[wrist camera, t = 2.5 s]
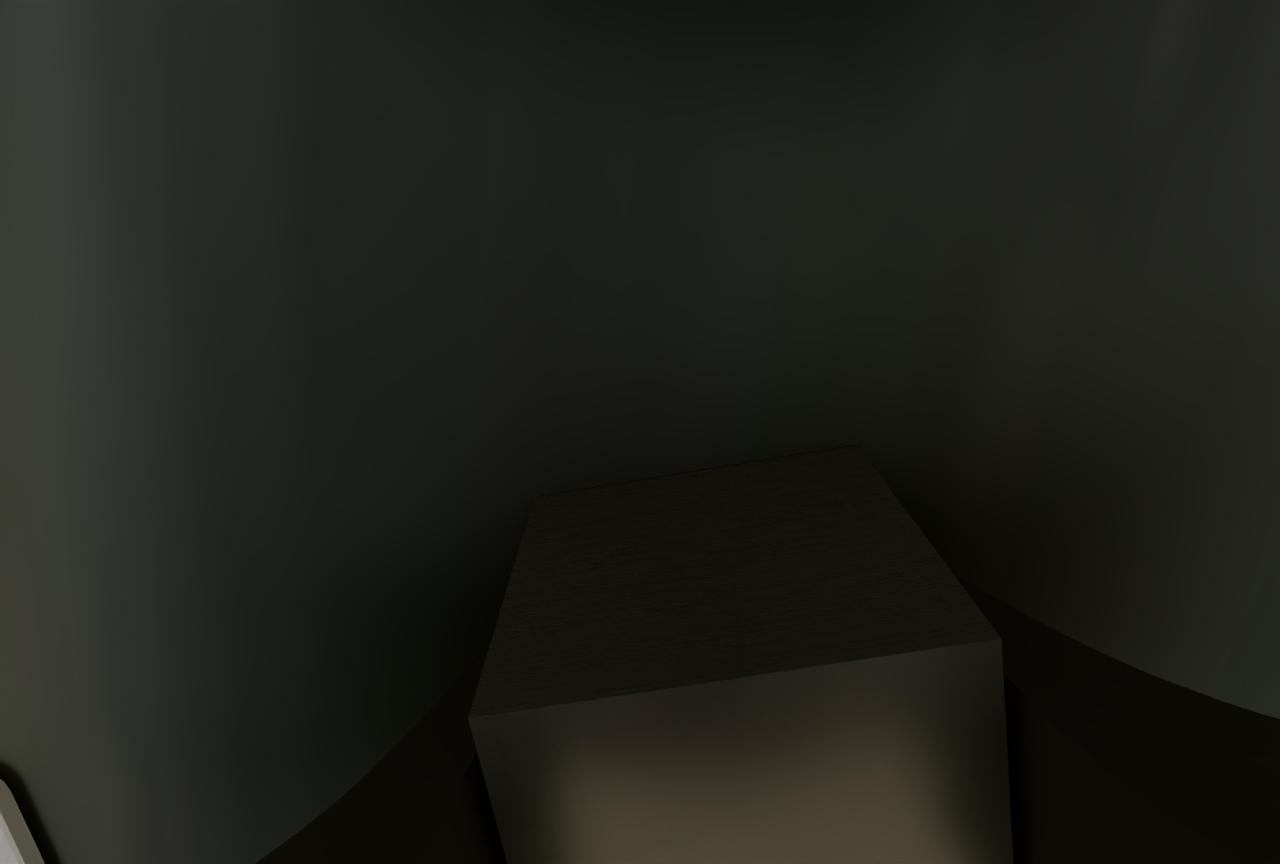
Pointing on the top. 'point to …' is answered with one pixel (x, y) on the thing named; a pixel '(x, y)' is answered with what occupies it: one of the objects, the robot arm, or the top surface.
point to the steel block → (742, 678)
